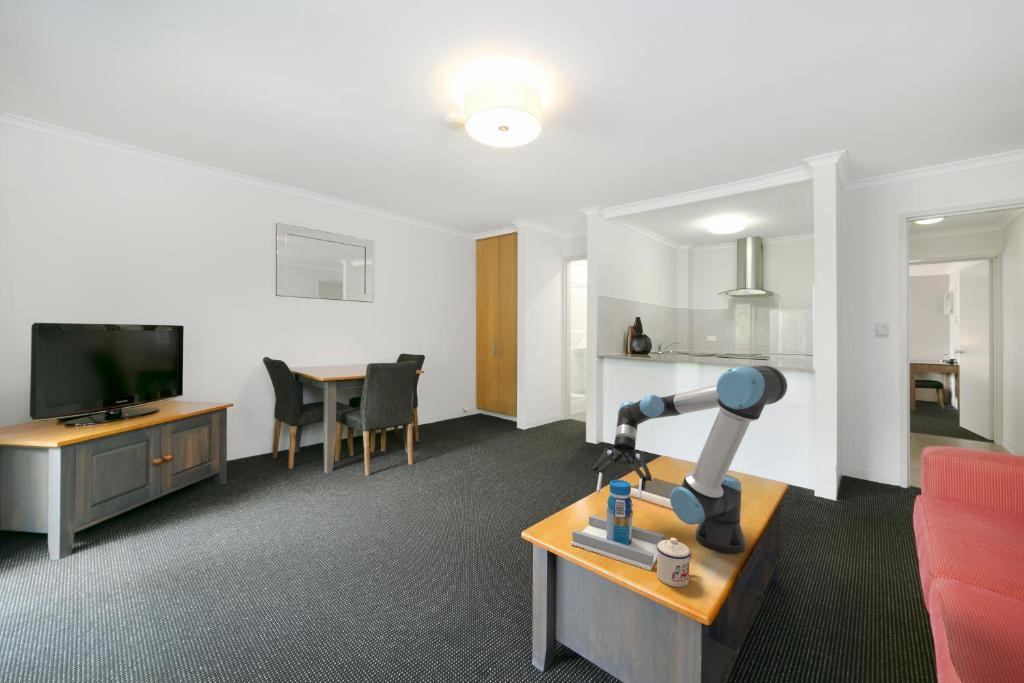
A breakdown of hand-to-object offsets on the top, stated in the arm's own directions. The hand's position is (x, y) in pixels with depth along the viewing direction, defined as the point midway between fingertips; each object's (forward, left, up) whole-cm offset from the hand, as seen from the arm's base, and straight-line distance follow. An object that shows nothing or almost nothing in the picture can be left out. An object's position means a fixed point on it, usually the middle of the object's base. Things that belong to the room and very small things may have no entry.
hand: (618, 495), depth 141 cm
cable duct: (-1, +2, -16) cm, 16 cm away
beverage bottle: (-1, +2, -15) cm, 15 cm away
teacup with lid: (-21, +10, -16) cm, 28 cm away
